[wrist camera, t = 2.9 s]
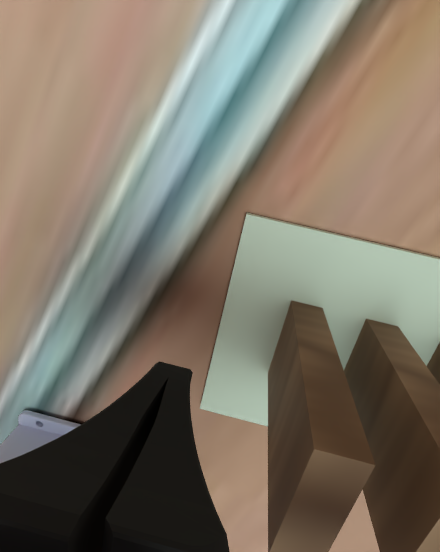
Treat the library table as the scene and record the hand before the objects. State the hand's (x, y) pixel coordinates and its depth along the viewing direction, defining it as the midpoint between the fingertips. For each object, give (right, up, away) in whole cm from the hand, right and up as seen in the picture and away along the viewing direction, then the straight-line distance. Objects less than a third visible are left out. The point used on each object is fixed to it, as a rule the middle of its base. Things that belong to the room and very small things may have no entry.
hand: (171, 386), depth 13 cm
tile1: (+6, +1, +5) cm, 8 cm away
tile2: (+9, 0, +5) cm, 11 cm away
